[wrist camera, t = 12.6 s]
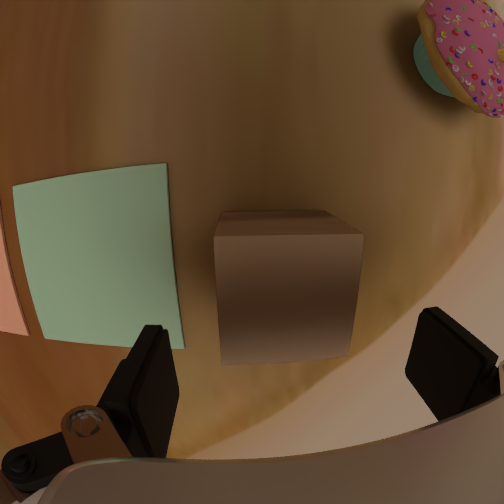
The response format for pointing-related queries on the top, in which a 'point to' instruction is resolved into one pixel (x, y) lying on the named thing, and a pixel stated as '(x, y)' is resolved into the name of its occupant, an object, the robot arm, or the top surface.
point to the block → (285, 285)
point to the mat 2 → (100, 254)
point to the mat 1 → (9, 294)
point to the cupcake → (462, 53)
